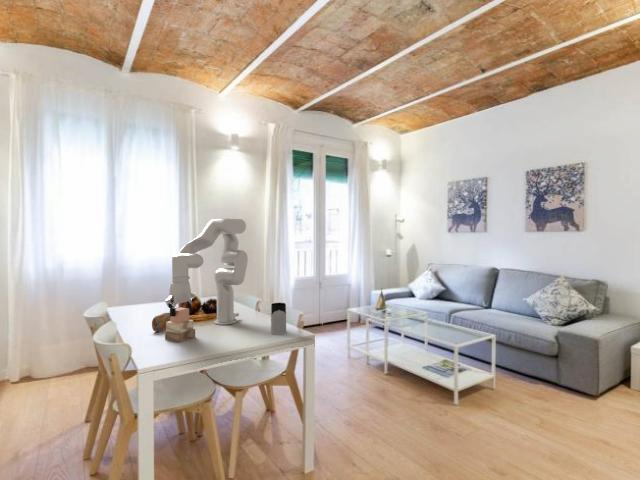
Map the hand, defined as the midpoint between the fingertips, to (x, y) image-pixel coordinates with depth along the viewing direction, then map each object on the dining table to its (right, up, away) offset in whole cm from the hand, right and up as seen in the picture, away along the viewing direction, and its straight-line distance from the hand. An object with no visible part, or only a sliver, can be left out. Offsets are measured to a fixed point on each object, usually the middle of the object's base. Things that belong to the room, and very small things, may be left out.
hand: (181, 314), depth 187 cm
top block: (-1, -8, 0) cm, 8 cm away
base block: (0, -12, 0) cm, 12 cm away
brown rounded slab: (-16, -12, +17) cm, 26 cm away
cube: (0, -3, 0) cm, 3 cm away
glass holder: (+47, -12, +13) cm, 50 cm away
